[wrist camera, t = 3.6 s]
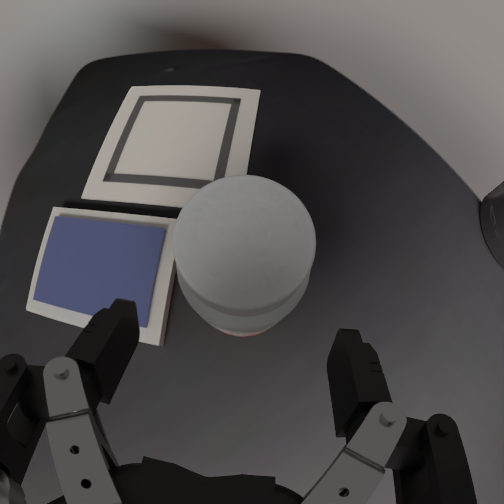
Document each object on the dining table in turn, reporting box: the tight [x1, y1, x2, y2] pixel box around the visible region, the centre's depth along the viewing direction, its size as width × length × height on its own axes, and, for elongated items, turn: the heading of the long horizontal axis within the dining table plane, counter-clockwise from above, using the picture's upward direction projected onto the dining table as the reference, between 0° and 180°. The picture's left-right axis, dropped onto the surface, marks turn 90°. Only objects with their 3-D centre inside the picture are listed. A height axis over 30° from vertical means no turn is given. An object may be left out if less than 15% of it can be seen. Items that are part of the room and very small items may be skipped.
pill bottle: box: [173, 175, 316, 337], centre depth 16 cm, size 6×6×11 cm
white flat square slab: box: [81, 86, 261, 208], centre depth 25 cm, size 14×14×1 cm
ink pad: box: [26, 207, 177, 346], centre depth 21 cm, size 12×9×2 cm
